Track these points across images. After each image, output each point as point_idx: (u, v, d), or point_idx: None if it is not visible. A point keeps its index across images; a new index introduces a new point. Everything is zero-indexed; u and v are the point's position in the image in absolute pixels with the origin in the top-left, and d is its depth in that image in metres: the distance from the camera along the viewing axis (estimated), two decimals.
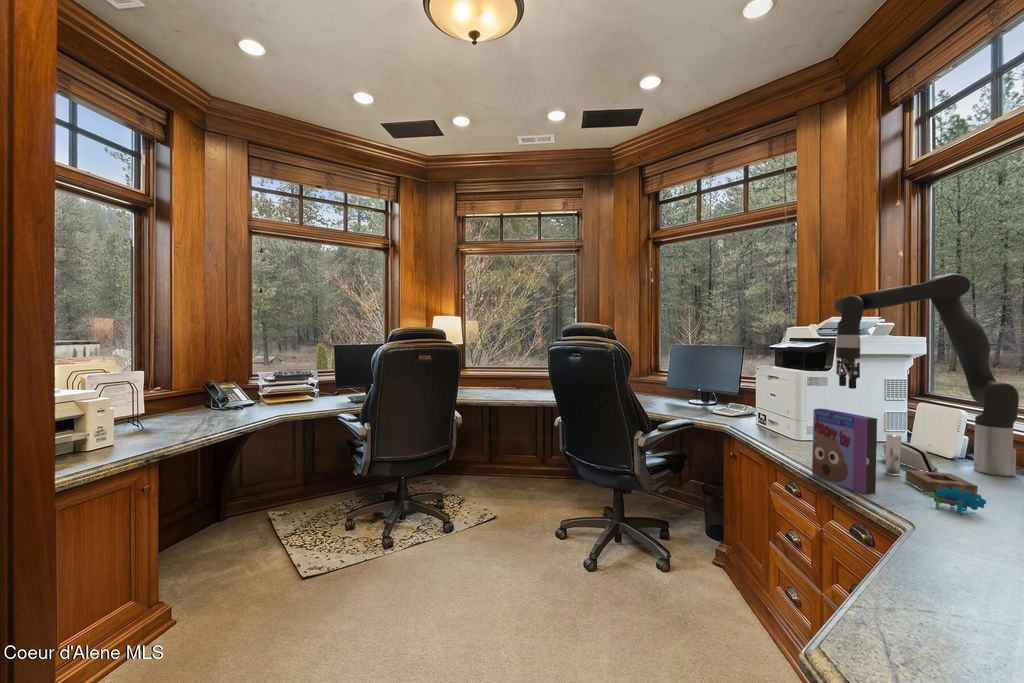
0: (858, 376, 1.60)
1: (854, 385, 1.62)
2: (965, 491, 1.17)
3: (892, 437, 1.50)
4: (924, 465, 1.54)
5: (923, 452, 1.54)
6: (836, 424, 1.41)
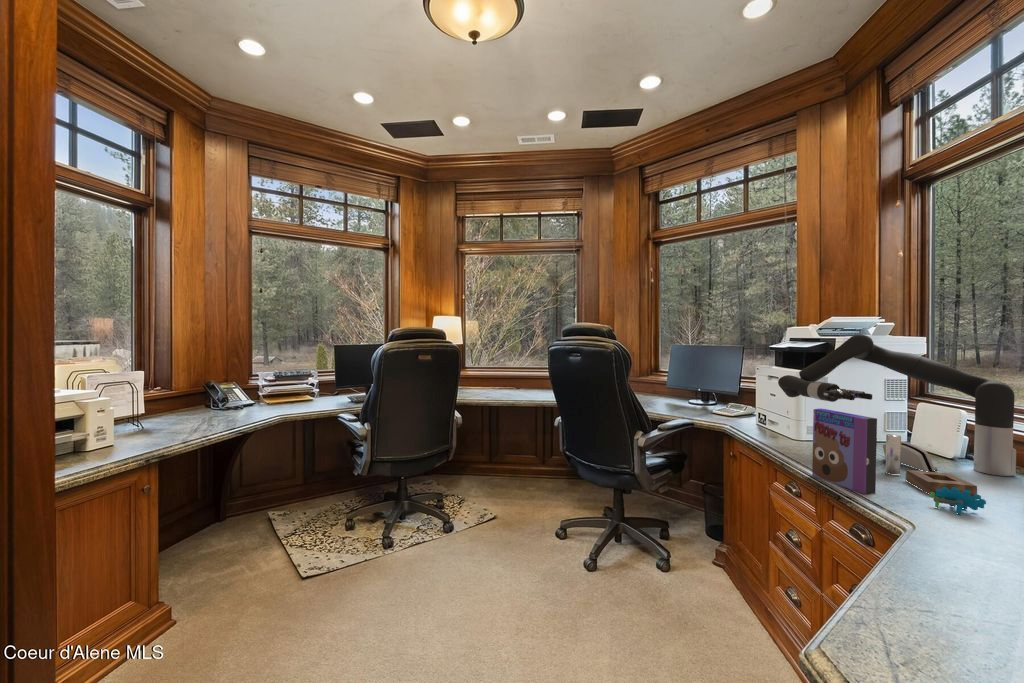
0: (835, 393, 1.65)
1: (848, 396, 1.62)
2: (964, 491, 1.17)
3: (892, 437, 1.50)
4: (924, 465, 1.54)
5: (923, 452, 1.54)
6: (836, 424, 1.41)
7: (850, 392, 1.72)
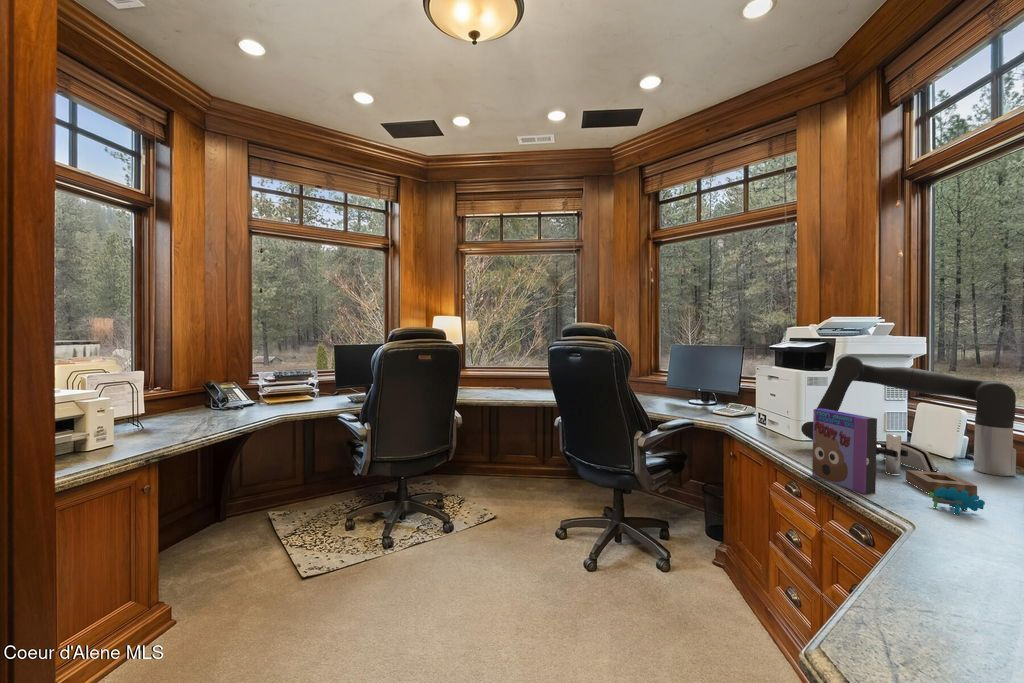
0: (876, 448, 1.53)
1: (890, 452, 1.49)
2: (962, 491, 1.17)
3: (892, 437, 1.50)
4: (926, 465, 1.53)
5: (925, 452, 1.54)
6: (836, 424, 1.41)
7: None
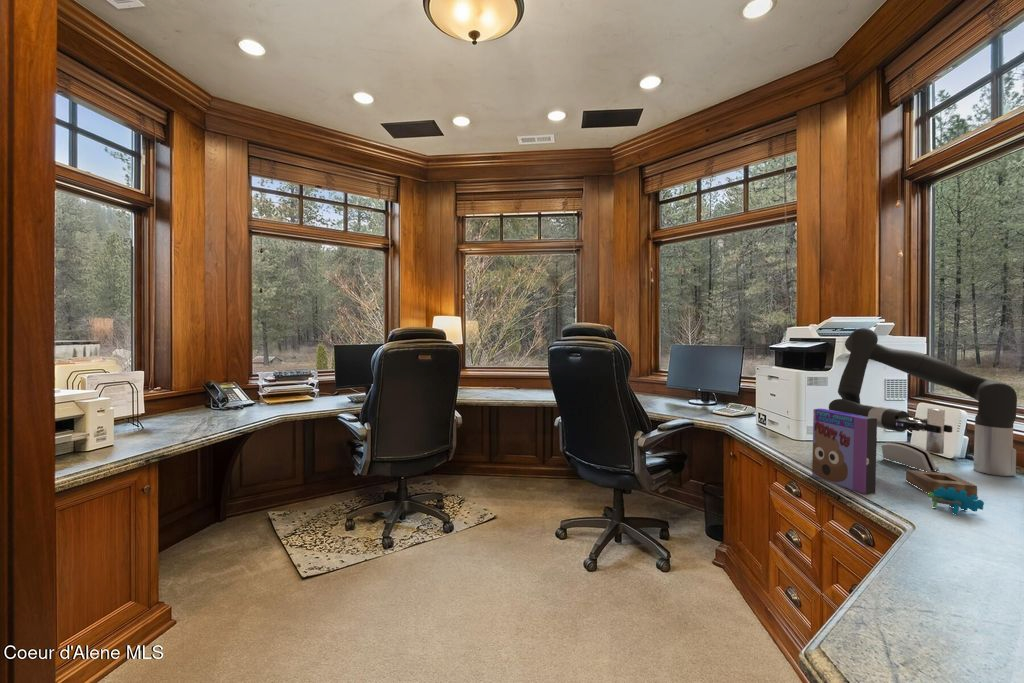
0: (916, 424, 1.39)
1: (933, 428, 1.35)
2: (960, 491, 1.17)
3: (935, 411, 1.36)
4: (927, 465, 1.53)
5: (925, 452, 1.54)
6: (836, 424, 1.41)
7: (924, 421, 1.45)
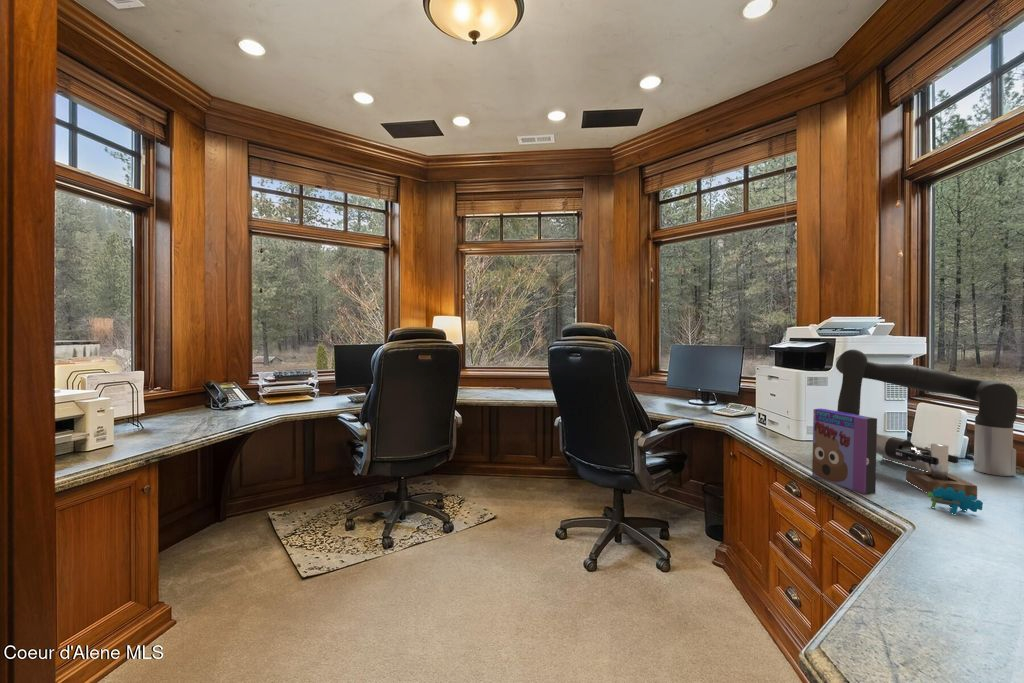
0: (912, 455, 1.38)
1: (930, 459, 1.35)
2: (959, 491, 1.17)
3: (938, 447, 1.35)
4: (928, 465, 1.53)
5: None
6: (836, 424, 1.41)
7: None
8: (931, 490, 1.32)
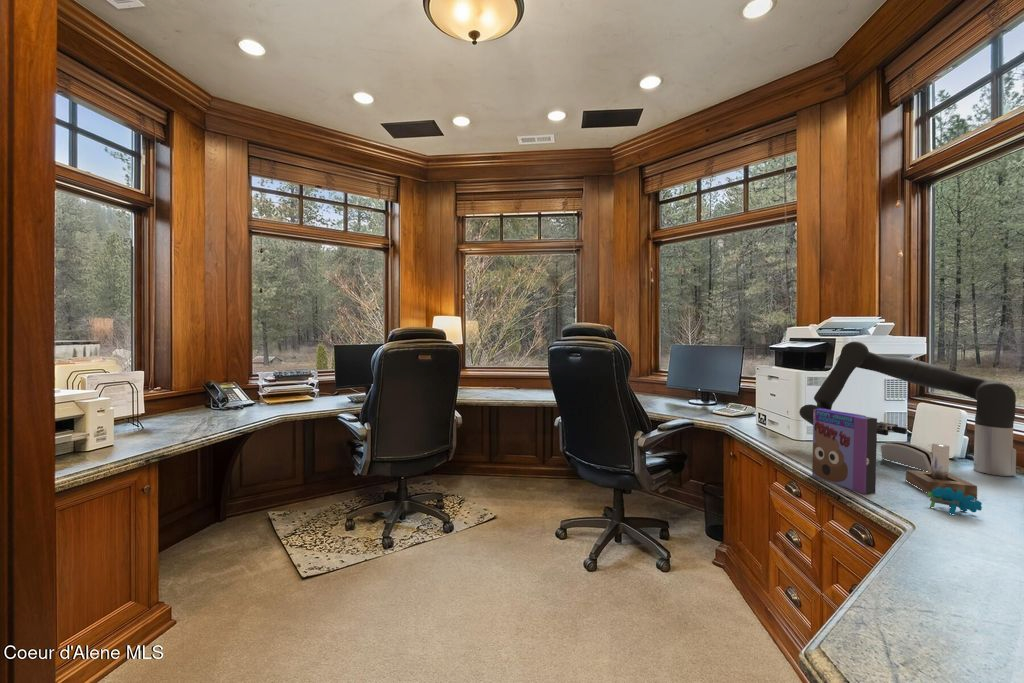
0: None
1: (881, 431, 1.50)
2: (957, 491, 1.17)
3: (939, 447, 1.35)
4: (929, 466, 1.53)
5: (927, 452, 1.54)
6: (836, 424, 1.41)
7: (881, 424, 1.60)
8: (931, 490, 1.32)
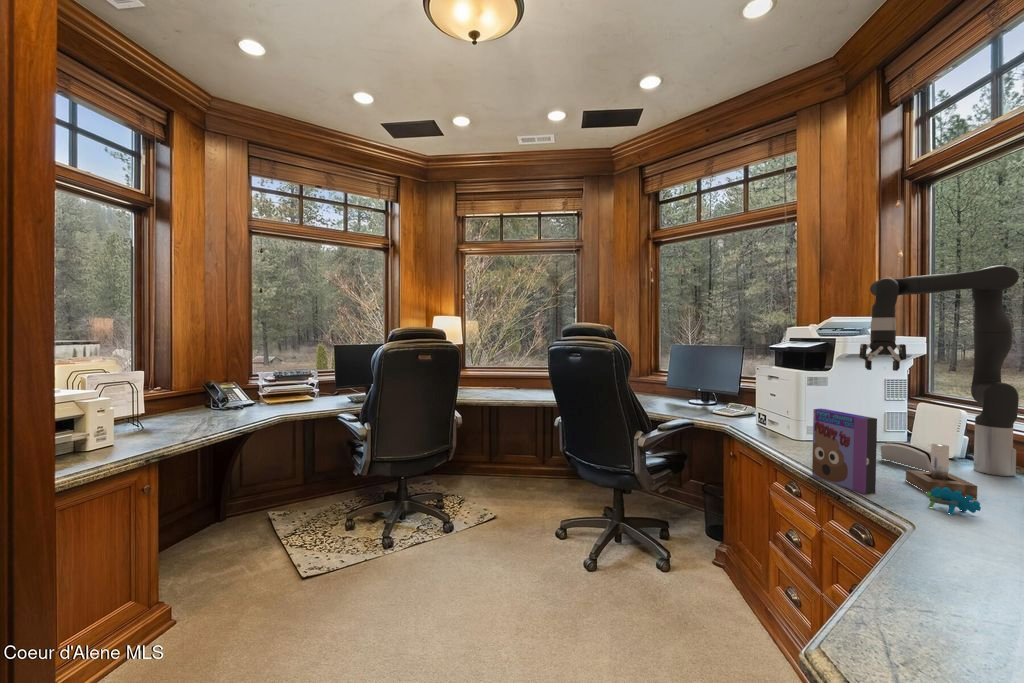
0: (862, 357, 1.68)
1: (866, 366, 1.68)
2: (955, 491, 1.17)
3: (939, 447, 1.35)
4: (930, 466, 1.53)
5: (928, 453, 1.54)
6: (836, 424, 1.41)
7: (898, 348, 1.65)
8: None
